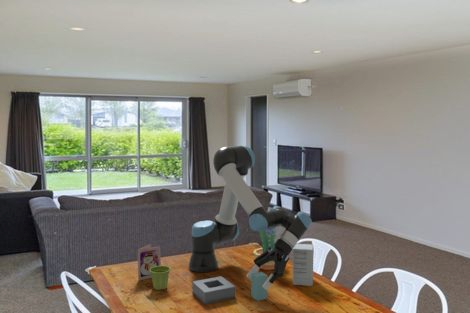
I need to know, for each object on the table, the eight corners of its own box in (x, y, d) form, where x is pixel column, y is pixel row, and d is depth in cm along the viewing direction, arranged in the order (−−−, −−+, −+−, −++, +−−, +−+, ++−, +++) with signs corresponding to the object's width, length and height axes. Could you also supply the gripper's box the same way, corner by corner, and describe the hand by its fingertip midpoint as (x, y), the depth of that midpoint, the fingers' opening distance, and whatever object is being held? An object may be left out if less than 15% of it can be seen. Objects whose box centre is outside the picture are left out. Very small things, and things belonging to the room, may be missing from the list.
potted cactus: (248, 269, 214) (248, 221, 212) (258, 260, 228) (258, 215, 227) (278, 273, 208) (277, 223, 206) (286, 264, 222) (286, 217, 221)
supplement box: (312, 286, 191) (313, 249, 190) (292, 285, 193) (292, 248, 192) (313, 279, 200) (313, 244, 199) (293, 277, 202) (293, 243, 201)
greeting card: (139, 281, 200) (138, 250, 198) (133, 276, 206) (132, 246, 205) (161, 276, 206) (161, 246, 205) (155, 272, 212) (155, 242, 211)
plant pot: (174, 285, 194) (174, 266, 193) (164, 292, 185) (164, 273, 185) (156, 282, 197) (156, 264, 196) (145, 290, 188) (145, 271, 188)
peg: (251, 296, 180) (251, 273, 180) (261, 294, 183) (261, 271, 182) (257, 300, 176) (257, 277, 175) (267, 298, 178) (267, 275, 177)
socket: (192, 292, 185) (192, 281, 185) (221, 286, 191) (221, 276, 191) (204, 304, 172) (204, 292, 172) (235, 297, 179) (235, 286, 178)
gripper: (308, 256, 174) (277, 298, 168) (275, 241, 196) (247, 278, 190) (297, 245, 171) (266, 288, 165) (265, 231, 193) (236, 269, 188)
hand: (256, 283), depth 178 cm, fingers open, 13 cm apart
